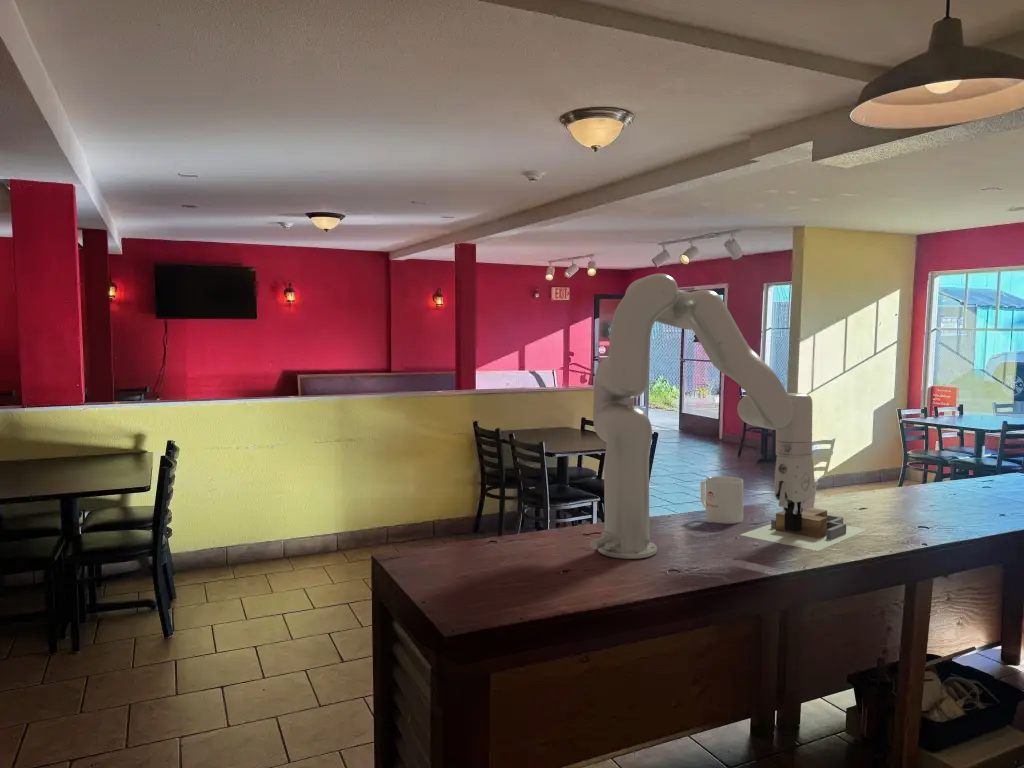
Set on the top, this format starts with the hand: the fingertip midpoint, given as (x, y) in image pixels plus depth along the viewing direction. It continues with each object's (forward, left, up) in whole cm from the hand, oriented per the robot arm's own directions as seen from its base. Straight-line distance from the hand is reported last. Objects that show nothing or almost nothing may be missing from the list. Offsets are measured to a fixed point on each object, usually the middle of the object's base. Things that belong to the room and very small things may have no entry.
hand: (793, 530), depth 158 cm
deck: (+5, 0, -3) cm, 6 cm away
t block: (+8, 0, -1) cm, 8 cm away
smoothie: (+24, +9, -3) cm, 26 cm away
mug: (+4, +21, -3) cm, 22 cm away
